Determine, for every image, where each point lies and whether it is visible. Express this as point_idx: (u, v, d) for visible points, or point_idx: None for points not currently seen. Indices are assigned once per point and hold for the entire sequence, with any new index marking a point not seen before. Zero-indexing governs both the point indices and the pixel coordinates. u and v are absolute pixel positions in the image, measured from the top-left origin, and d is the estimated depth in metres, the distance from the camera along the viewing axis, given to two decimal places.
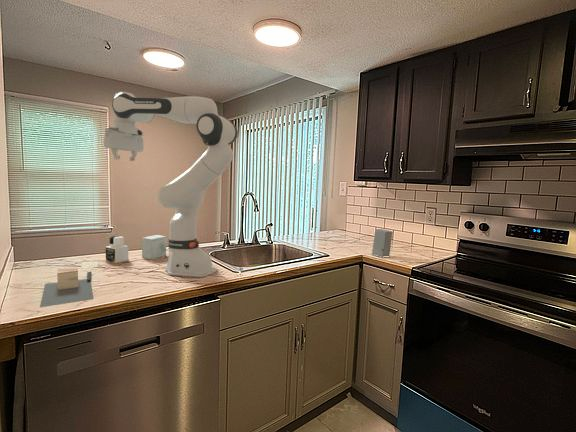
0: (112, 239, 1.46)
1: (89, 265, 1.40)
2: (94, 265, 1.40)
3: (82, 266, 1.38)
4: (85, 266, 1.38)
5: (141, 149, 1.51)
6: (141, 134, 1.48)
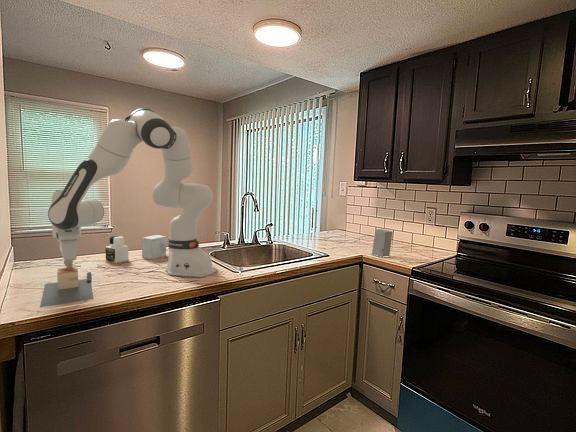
0: (112, 239, 1.46)
1: (89, 265, 1.39)
2: (94, 265, 1.40)
3: (82, 267, 1.37)
4: (85, 267, 1.38)
5: (63, 257, 1.11)
6: (58, 238, 1.11)
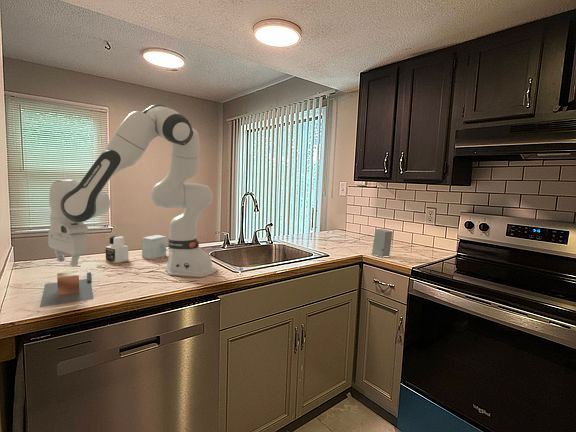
0: (112, 239, 1.46)
1: (88, 266, 1.39)
2: (93, 266, 1.39)
3: (81, 267, 1.37)
4: (84, 267, 1.37)
5: (73, 252, 1.05)
6: (65, 231, 1.04)
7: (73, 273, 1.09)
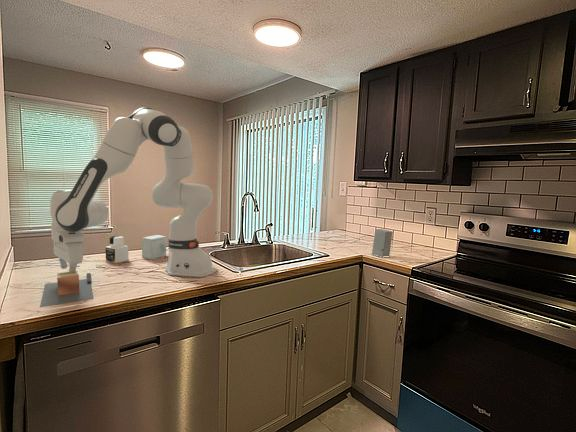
0: (112, 239, 1.46)
1: (87, 266, 1.38)
2: (93, 266, 1.38)
3: (80, 268, 1.36)
4: (83, 267, 1.36)
5: (69, 260, 1.08)
6: (62, 241, 1.07)
7: (73, 273, 1.09)
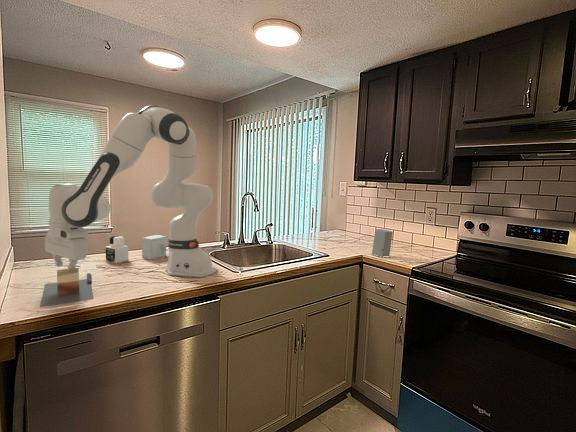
0: (112, 239, 1.46)
1: (88, 267, 1.38)
2: (93, 266, 1.38)
3: (81, 268, 1.36)
4: (84, 268, 1.36)
5: (72, 257, 1.04)
6: (65, 236, 1.03)
7: (73, 274, 1.06)
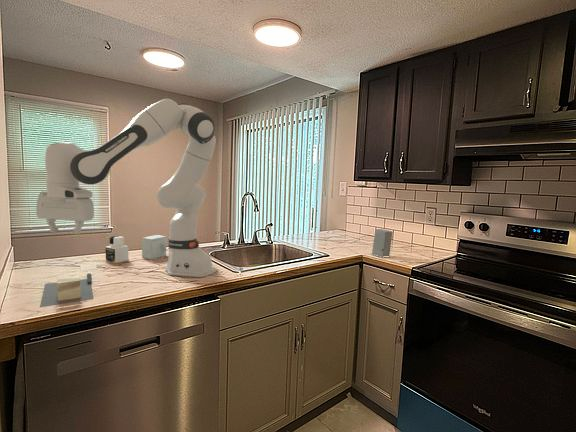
0: (112, 239, 1.46)
1: (88, 267, 1.37)
2: (93, 267, 1.38)
3: (81, 268, 1.35)
4: (84, 268, 1.36)
5: (81, 217, 1.01)
6: (72, 196, 0.99)
7: (75, 289, 1.02)
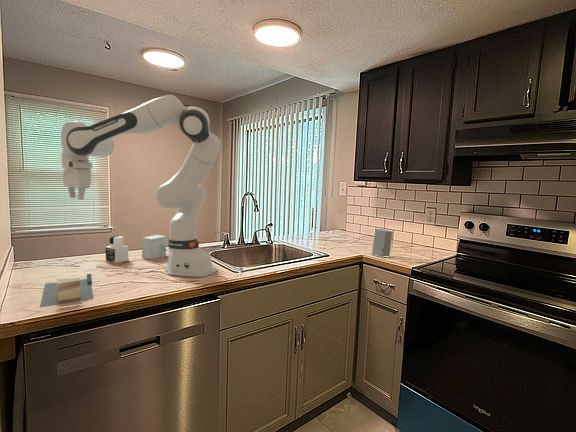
0: (112, 239, 1.46)
1: (88, 267, 1.37)
2: (93, 267, 1.37)
3: (81, 268, 1.35)
4: (84, 268, 1.35)
5: (78, 184, 1.18)
6: (72, 166, 1.17)
7: (75, 289, 1.02)
